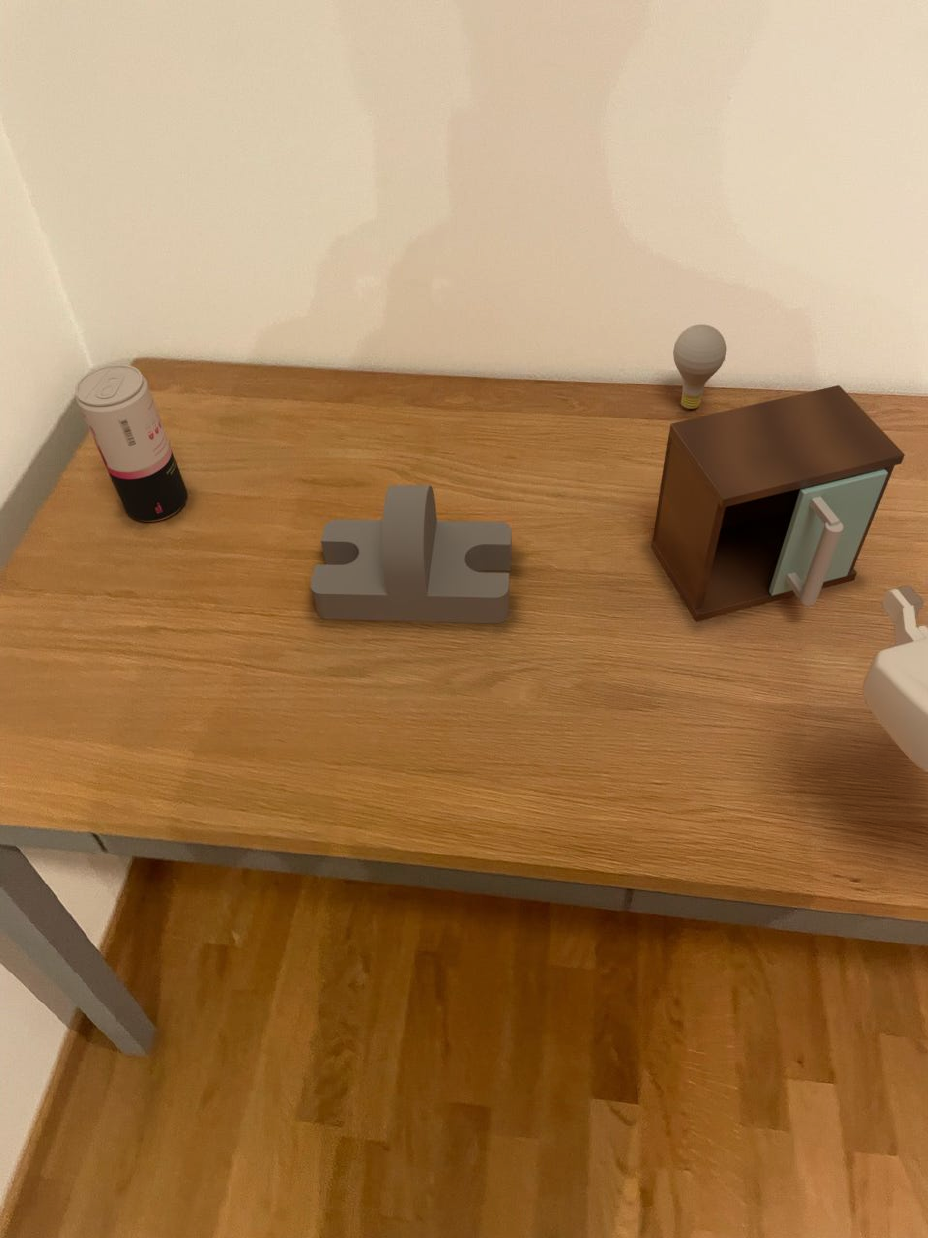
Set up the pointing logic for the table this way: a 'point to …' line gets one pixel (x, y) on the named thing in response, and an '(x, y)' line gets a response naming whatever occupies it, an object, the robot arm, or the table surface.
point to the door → (825, 534)
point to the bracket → (413, 565)
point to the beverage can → (131, 441)
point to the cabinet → (755, 491)
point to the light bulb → (698, 360)
